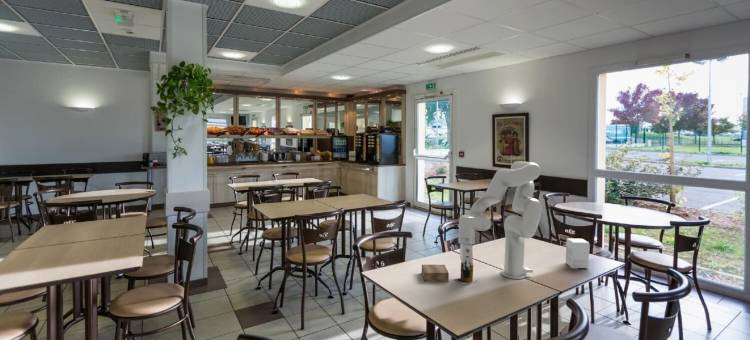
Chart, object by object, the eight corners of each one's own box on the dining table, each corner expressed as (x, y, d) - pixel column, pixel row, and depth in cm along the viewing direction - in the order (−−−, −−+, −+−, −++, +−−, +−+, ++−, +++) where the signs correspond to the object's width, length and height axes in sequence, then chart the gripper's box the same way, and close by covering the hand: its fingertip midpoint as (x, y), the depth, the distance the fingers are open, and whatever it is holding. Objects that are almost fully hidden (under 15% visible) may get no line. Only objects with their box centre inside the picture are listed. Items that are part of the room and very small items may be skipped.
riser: (444, 273, 200) (444, 264, 199) (448, 282, 188) (448, 272, 187) (421, 273, 200) (421, 264, 199) (424, 282, 188) (424, 272, 187)
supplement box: (581, 263, 216) (582, 238, 215) (588, 269, 208) (590, 242, 206) (564, 263, 217) (566, 237, 216) (571, 268, 208) (572, 242, 207)
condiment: (476, 281, 189) (477, 258, 188) (464, 285, 184) (465, 261, 183) (465, 276, 195) (466, 254, 194) (453, 280, 190) (454, 257, 189)
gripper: (477, 245, 179) (476, 281, 181) (470, 235, 196) (469, 269, 198) (461, 244, 180) (460, 281, 181) (456, 235, 197) (454, 268, 198)
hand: (465, 274), depth 190 cm, fingers closed on condiment, 6 cm apart
